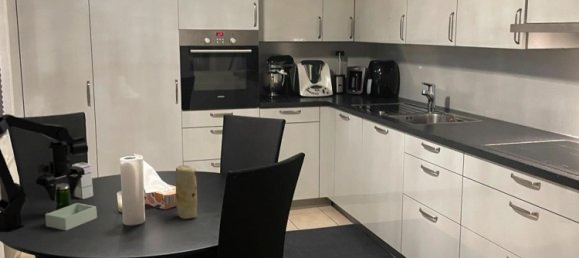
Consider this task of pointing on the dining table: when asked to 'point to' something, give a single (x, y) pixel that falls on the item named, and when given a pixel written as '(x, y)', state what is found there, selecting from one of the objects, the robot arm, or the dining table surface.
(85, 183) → the syrup box
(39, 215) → the dining table surface
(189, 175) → the food model
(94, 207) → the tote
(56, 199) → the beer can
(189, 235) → the dining table surface
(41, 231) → the dining table surface
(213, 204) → the dining table surface
